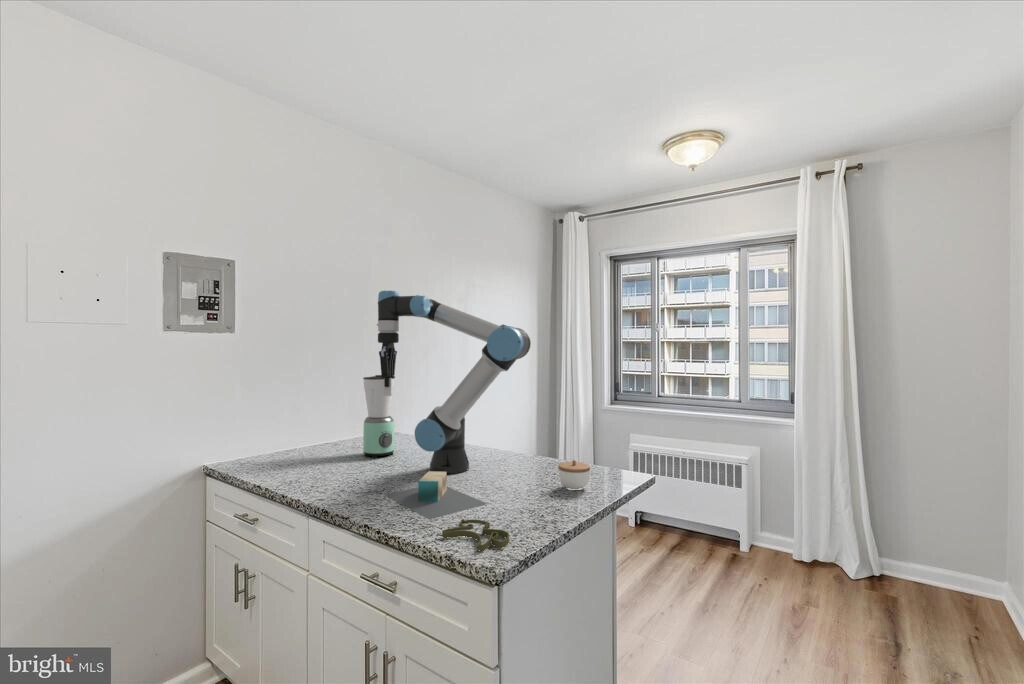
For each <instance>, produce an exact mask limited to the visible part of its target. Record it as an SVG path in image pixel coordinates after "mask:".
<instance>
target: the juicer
mask: <svg viewBox="0 0 1024 684" xmlns="http://www.w3.org/2000/svg"><path fill="white" fill-rule="evenodd" d="M381 377H382V375H381V374H376V375H374V376H364V377H362V378H363V389H364V394H365V401H366V409H367V415H368V416H367V417H366V418H365V419H364V421H363V442H362V443H363V444H362V445H363V447H362V448H363V449H362V451H363V454H365V455H364V456H368V457H369V456H370V457H372V459H376V458H375V457H377V458H378V457H381V456H389V455H392V456H394V452H395V422H394V418H393V417H392V416H391V414H390V413H391V408H392V401H393V393H394V388H395V378H392V396H384V378H381Z"/></svg>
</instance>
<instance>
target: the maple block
mask: <svg viewBox="0 0 1024 684" xmlns="http://www.w3.org/2000/svg"><path fill="white" fill-rule="evenodd" d="M447 475H448V474H447V472H441V471H430V470H429V471H427V472H426V473H425V474H424V475H423V476H422V477H421V478H420V479H419V480H417V483H418V485H417V488H418V501H423V502H438V501H439V500H440V498H441V497H442V496H443V494H444V493H445V492H446V490H447V487H448V486H447V481H448V480H447V479H448V476H447Z"/></svg>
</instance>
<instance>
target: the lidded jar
mask: <svg viewBox="0 0 1024 684" xmlns="http://www.w3.org/2000/svg"><path fill="white" fill-rule="evenodd" d="M557 467H558V468H557V469H558V478H559V481H560V484H561V485H562V486H563V487H564V488H565V487H566V488H571V489H579V488H583V487H584V488H585V487H586V486H587V484H588V483H589V481H590V477H591V476H590V475H591V465H590V464H589V463H586V462H581V461H576V460H575V459H572V461H564V462H560V463H558V465H557ZM584 488H583V489H584Z"/></svg>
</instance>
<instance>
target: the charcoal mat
mask: <svg viewBox="0 0 1024 684" xmlns="http://www.w3.org/2000/svg"><path fill="white" fill-rule="evenodd" d="M384 496H385V497H388V498H389V499H391V500H393V501H395V502H397V503H399V505H400V504H401V505H402V506H404V507H406V508H408V509H409V510H412V511H413V512H415V513H417V514H418V515H421V516H422V517H424V518H427V520H431V519H436V518H440V517H443V516H447V515H451V514H455V513H458V512H462V511H466V510H471V509H474V508H478V507H482V506H486V505H488V503H487V502H484V501H483V500H480V499H478V498H476V497H473V496H471V495H469V494H466V493H463V492H461V491H459V490H458V489H457V490H456V489H455V488H452V487H449V486H447V490H446V492H445V493H444V494H443V496H442V497H441V498H440V500H439V501H438V502H423V501H418V487H415V488H409V489H405V490H400V491H395V492H390V493H386V494H385V493H384Z"/></svg>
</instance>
